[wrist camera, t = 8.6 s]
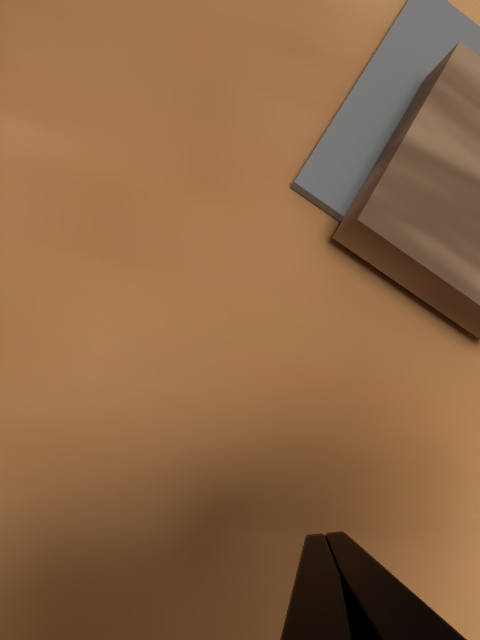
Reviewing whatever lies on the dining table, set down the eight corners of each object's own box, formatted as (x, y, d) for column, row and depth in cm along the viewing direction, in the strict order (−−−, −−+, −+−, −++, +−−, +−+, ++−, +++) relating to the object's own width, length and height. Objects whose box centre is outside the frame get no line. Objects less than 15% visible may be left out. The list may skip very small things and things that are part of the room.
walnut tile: (533, 342, 18) (610, 160, 20) (357, 219, 17) (459, 40, 19) (485, 345, 20) (558, 184, 22) (331, 238, 19) (423, 80, 21)
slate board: (527, 352, 21) (537, 352, 21) (290, 186, 20) (294, 181, 19) (614, 149, 24) (625, 144, 24) (414, -11, 23) (421, -20, 22)
